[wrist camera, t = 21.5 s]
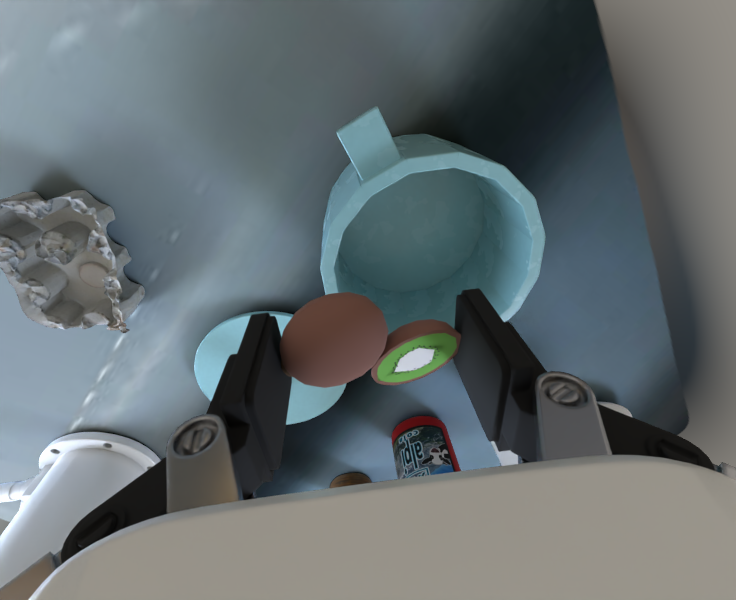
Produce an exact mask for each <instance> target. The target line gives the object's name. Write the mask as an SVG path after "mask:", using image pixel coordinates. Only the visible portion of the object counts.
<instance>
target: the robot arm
mask: <svg viewBox="0 0 736 600" xmlns="http://www.w3.org/2000/svg"><path fill="white" fill-rule="evenodd" d="M454 329H455V330H456V331H457V332H458V333H460V334H461V339H460V344H459V348H458V353H457V354H456V355H455V356H454V357H453V360H454V363H455V366H456V368H457V370H458V372H459V375H460V377H461V379H462V382H463V384H464V386H465V388H466V391H467V393H468V395H469V398H470V400H471V402H472V404H473V407H474V409H475V411H476V414H477V416H478V418H479V420H480V423H481V425H482V427H483V430H484V432H485V434H486V436H487V438H488V440H489V441H490V442H491V441H494V442H495V444H496V447H497V449H498V451H499V452H501V451H509V450H511V452H512V453H514V454H516V455H518V464H514V465H506V466H498V467H490V468H482V469H474V470H466V471H458V472H450V473H443V474H435V475H427V476H419V477H412V478H404V479H396V480H389V481H381V482H374V483H366V484H358V485H351V486H343V487H336V488H329V489H321V490H314V491H307V492H299V493H292V494H285V495H277V496H270V497H263V498H257V497H256V493H255V490H256V489H257V488H258V487H259V486H260V485H261V484H262V482H270V481H272V480H273V473H274V469H279V467H280V463H281V456H282V449H283V442H284V435H285V428H286V420H287V413H288V406H289V399H290V392H291V385H292V377H290V376H287V375H286V374H285V373H284V372H283V370H282V368H281V354H280V341H281V334H280V330H279V327H278V323H277V319H276V317H275V316H270V314H269V313H260V314H252V315H251V316H250V319H249V322H248V325H247V327H246V330H245V333H244V336H243V339H242V341H241V344H240V347H239V350H238V352H237V354H231V355H230V356H229V358H228V359H227V362H226V365H225V367H224V370H223V372H222V375H221V378H220V380H219V383H218V385H217V388H216V390H215V393H214V396H213V398H212V401H211V403H210V406H209V408H208V411H207V414H202V415H199V416H196V417H193V418H191V419H189V420H187V421H185V422H184V423H183V424H181V425H180V426H179V427H178V428H177V429H176V430H175V431H174V432H173V433H172V434H171V436H170V438H169V440H168V442H167V447H166V457H165V458H164V459H162V460H160V459H159V457H158V456H157V455H156V454H155V453H154V452H153V451H151V450H150V449H149V448H147V447H146V446H144V445H142V444H141V443H139V442H137V441H134V440H132V439H129V438H126V437H123V436H119V435H116V434H110V433H104V432H79V433H73V434H68V435H65V436H62V437H60V438H58V439H56V440H54V441H53V442H51V443H50V444H49V446H48V447H47V448H46V449H45V450H44V452H43V453H42V454H41V456H40V459H39V468H40V472H39V473H38V475H37V476H33V477H31V478H28V479H27V480H26V481H16V482H7V483H1V484H0V502H9V501H15V500H18V499H22V501H21V503H20V510H19V512H18V513H17V514H16V516H15V517H14V518H13V520H12V521H11V522H10V524H9V525H8V526H7V528H6V529H5V531H4V532H3V533H2V535H1V536H0V600H736V468H735V467H733V466H730V465H728V464H726V463H723V462H722V463H721V464H720V465H719V466H717V465H715V464H712V462H711V461H710V459H709V457H708V456H707V455H706V454H705V453H704V452H702V450H700V449H699V448H698V447H696V446H695V445H693V444H692V443H691V442H689V441H687V440H685V439H683V438H681V437H679V436H677V435H675V434H672V433H670V432H667V431H665V430H662V429H660V428H657V427H655V426H652V425H650V424H647V423H645V422H642V421H640V420H637V419H635V418H632V417H630V416H627V415H625V414H622V413H620V412H617V411H615V410H612V409H610V408H608V407H605V406H603V405H600V404H598V403H597V401H596V398H595V395H594V393H593V391H592V389H591V388H590V387H589V386H588V384H587V383H586V382H584V381H583V380H581V379H580V378H578V377H576V376H573V375H571V374H568V373H564V372H555V371H551V372H547V371H546V370H545V369H544V367H543V366H542V365H541V363H540V362H539V361H538V359H537V358H536V357H535V355H534V354H533V353H532V351H531V350H530V349H529V347H528V346H527V345H526V343H525V342H524V341H523V339H522V338H521V337H520V335H519V334H518V333H517V331H516V330H515V329H514V327H513V326H512V325H511V324H510V323H509V322H504V321H503V320H502V319H501V317H500V316H499V314H498V313H497V312H496V310H495V309H494V308H493V306H492V305H491V303H490V302H489V301H488V299H487V298H486V297H485V295H484V294H483V292H482V291H481V290H480V289H479V288H476V289H468V290H463V291H462V292H461V294H460V295H457V297H456V309H455V326H454Z"/></svg>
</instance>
